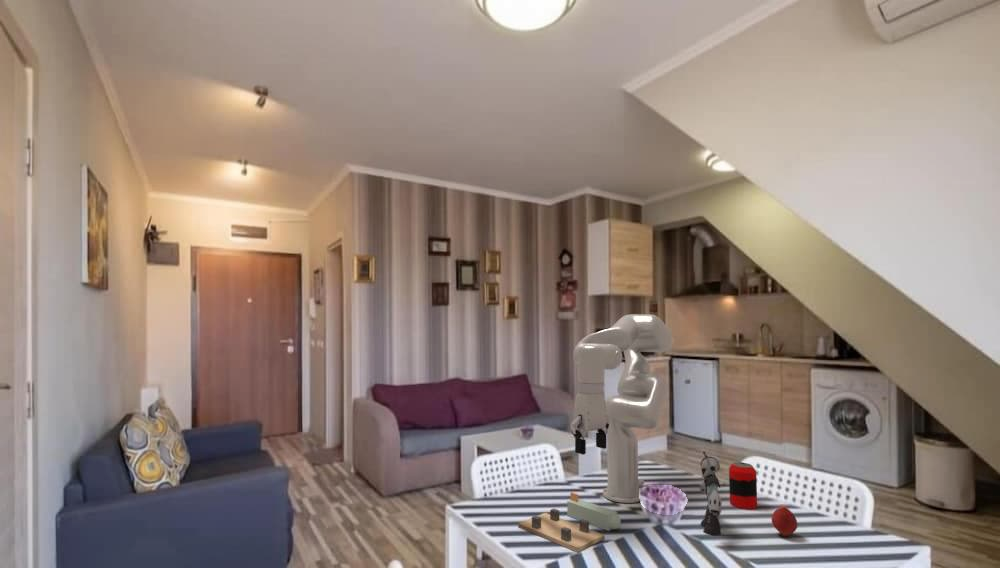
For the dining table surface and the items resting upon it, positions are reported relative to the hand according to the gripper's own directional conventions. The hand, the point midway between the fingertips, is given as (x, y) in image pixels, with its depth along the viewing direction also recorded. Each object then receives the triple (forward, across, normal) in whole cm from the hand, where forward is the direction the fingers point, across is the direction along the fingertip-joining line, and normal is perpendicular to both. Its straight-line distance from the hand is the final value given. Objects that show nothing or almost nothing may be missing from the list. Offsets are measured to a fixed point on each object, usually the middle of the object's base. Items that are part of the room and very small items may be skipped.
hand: (591, 450), depth 141 cm
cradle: (+19, +12, -1) cm, 23 cm away
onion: (+19, -30, +40) cm, 53 cm away
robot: (+19, -20, +25) cm, 37 cm away
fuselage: (+19, 0, 0) cm, 19 cm away
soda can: (+19, -45, +24) cm, 54 cm away
